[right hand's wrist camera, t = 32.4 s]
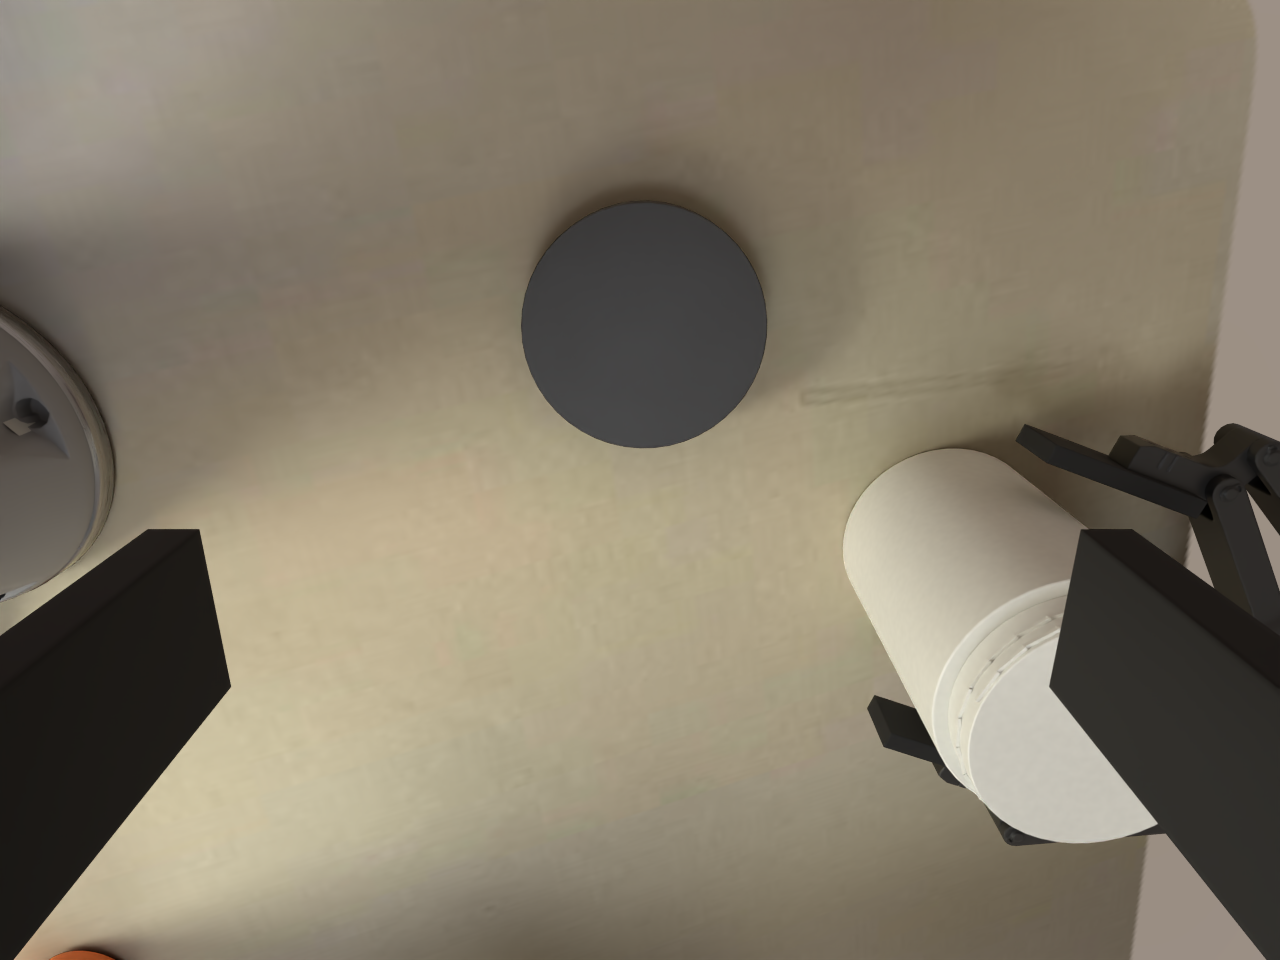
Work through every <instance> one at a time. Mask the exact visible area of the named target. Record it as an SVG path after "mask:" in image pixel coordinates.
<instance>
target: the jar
mask: <svg viewBox="0 0 1280 960" xmlns="http://www.w3.org/2000/svg"><path fill="white" fill-rule="evenodd" d="M1081 529H1088V528H1087V527H1086V526H1085V525H1083V524H1082V523H1081V522H1079V521H1078V520H1077V519H1076V518H1074V517H1073V516H1072V515H1071V514H1069V513H1068V512H1067V511H1066V510H1064V509H1063V508H1062V507H1061V506H1059V505H1058V504H1057V503H1055V502H1054V501H1053V500H1052V499H1050V498H1049V497H1048V496H1047V495H1045V494H1044V493H1043V492H1042V491H1040V490H1039V489H1038V488H1036V487H1035V486H1034V485H1033V484H1031V483H1030V482H1029V481H1028V480H1026V479H1025V478H1024V477H1023V476H1021V475H1020V474H1019V473H1018V472H1016V471H1015V470H1014V469H1012V468H1011V467H1010V466H1009V465H1007V464H1006V463H1004V462H1003V461H1001V460H999V459H997V458H995V457H993V456H990V455H988V454H985V453H982V452H978V451H974V450H968V449H940V450H932V451H928V452H925V453H921V454H917V455H915V456H912V457H910V458H907V459H905V460H903V461H901V462H899V463H897V464H896V465H894V466H892V467H891V468H889V469H888V470H886V471H885V472H884V473H882V474H881V475H880V476H879V477H878V478H877V479H875V480H874V481H873V482H872V483H871V484H870V485H869V487H868V488H867V489H866V490H865V491H864V492H863V494H862V495H861V497H860V498H859V499H858V501H857V502H856V504H855V506H854V508H853V510H852V512H851V514H850V517H849V519H848V522H847V525H846V529H845V534H844V541H843V557H844V564H845V568H846V572H847V574H848V577H849V580H850V582H851V584H852V586H853V588H854V590H855V592H856V594H857V595H858V597H859V599H860V601H861V603H862V605H863V607H864V609H865V611H866V613H867V615H868V617H869V619H870V621H871V623H872V625H873V626H874V628H875V630H876V632H877V634H878V636H879V638H880V640H881V642H882V644H883V646H884V648H885V650H886V652H887V654H888V656H889V657H890V659H891V661H892V663H893V665H894V667H895V669H896V671H897V673H898V675H899V677H900V679H901V681H902V683H903V685H904V687H905V688H906V690H907V692H908V694H909V696H910V698H911V700H912V702H913V704H914V706H915V708H916V710H917V712H918V714H919V716H920V718H921V719H922V721H923V723H924V725H925V727H926V729H927V731H928V733H929V735H930V737H931V739H932V741H933V743H934V745H935V747H936V749H937V750H938V752H939V754H940V756H941V758H942V760H943V761H944V763H945V765H946V767H947V768H948V769H949V770H950V772H951V773H952V774H953V775H954V776H955V778H956V779H957V780H959V781H960V782H961V783H962V784H963V785H964V786H965V787H966V788H968V789H969V790H971V791H972V792H974V793H975V794H976V795H977V796H978V798H979V799H980V800H981V801H982V802H984V803H985V804H986V805H987V807H988V808H989V809H990V810H991V811H992V812H993V813H994V814H995V815H996V816H998V817H999V818H1000V819H1001V820H1003V821H1004V822H1006V823H1007V824H1009V825H1010V826H1012V827H1013V828H1015V829H1017V830H1019V831H1022V832H1024V833H1026V834H1029V835H1032V836H1035V837H1037V838H1041V839H1045V840H1050V841H1055V842H1065V843H1092V842H1101V841H1108V840H1113V839H1117V838H1122V837H1125V836H1128V835H1132V834H1135V833H1138V832H1140V831H1143V830H1145V829H1148V828H1150V827H1152V826H1155V825H1157V824H1158V823H1157V822H1156V821H1155V819H1154V818H1153V817H1152V815H1151V814H1150V813H1149V812H1148V810H1147V809H1146V808H1145V807H1144V805H1143V804H1142V803H1141V802H1140V800H1139V799H1138V798H1137V797H1136V795H1135V794H1134V793H1133V792H1132V790H1131V789H1130V788H1129V787H1128V785H1127V784H1126V783H1125V782H1124V780H1123V779H1122V778H1121V777H1120V775H1119V774H1118V773H1117V772H1116V770H1115V769H1114V768H1113V767H1112V765H1111V764H1110V763H1109V762H1108V760H1107V759H1106V758H1105V757H1104V755H1103V754H1102V753H1101V752H1100V750H1099V749H1098V748H1097V746H1096V745H1095V744H1094V743H1093V741H1092V740H1091V739H1090V738H1089V736H1088V735H1087V734H1086V733H1085V731H1084V730H1083V729H1082V728H1081V726H1080V725H1079V724H1078V723H1077V721H1076V720H1075V719H1074V718H1073V716H1072V715H1071V714H1070V713H1069V711H1068V710H1067V709H1066V708H1065V706H1064V705H1063V704H1062V703H1061V701H1060V700H1059V699H1058V698H1057V696H1056V695H1055V694H1054V693H1053V691H1052V690H1051V689H1050V688H1049V684H1050V679H1051V674H1052V669H1053V664H1054V659H1055V654H1056V649H1057V644H1058V639H1059V634H1060V629H1061V624H1062V619H1063V614H1064V610H1065V605H1066V600H1067V595H1068V590H1069V585H1070V580H1071V575H1072V570H1073V565H1074V560H1075V555H1076V550H1077V545H1078V540H1079V535H1080V530H1081Z"/></svg>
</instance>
